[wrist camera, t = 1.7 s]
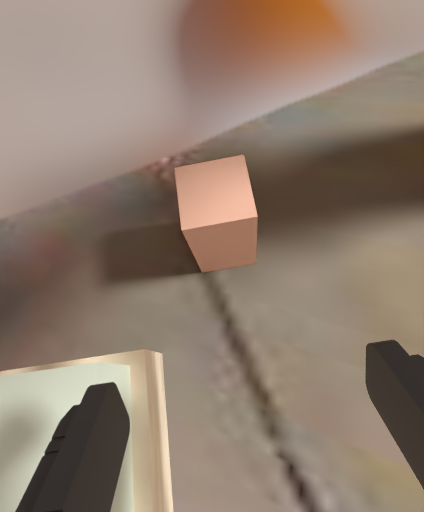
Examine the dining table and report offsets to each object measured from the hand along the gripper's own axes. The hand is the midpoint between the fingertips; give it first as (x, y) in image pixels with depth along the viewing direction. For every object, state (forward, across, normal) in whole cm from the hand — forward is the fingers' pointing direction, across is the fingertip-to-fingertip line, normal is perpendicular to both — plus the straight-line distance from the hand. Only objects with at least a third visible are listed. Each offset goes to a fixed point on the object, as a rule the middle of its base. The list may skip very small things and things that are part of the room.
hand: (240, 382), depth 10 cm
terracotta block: (+20, 0, +3) cm, 20 cm away
